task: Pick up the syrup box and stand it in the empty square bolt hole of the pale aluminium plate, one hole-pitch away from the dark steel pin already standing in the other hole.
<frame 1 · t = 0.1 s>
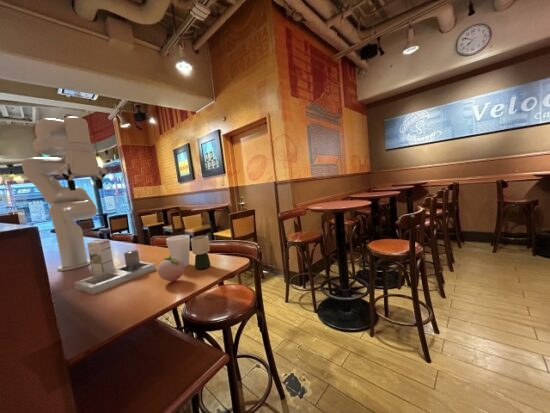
hand: (86, 189, 97), 37 cm above the table, tool pointing down, fingers open, 9 cm apart
syrup box: (103, 273, 99), on the table
decorative fruit: (172, 282, 84), on the table
hole plate: (119, 278, 92), on the table
foam cup: (181, 266, 100), on the table
character mug: (203, 268, 97), on the table
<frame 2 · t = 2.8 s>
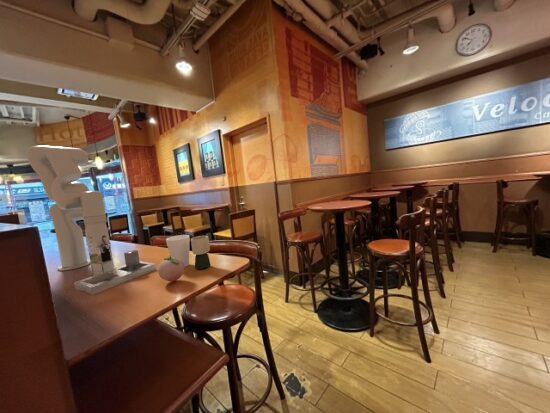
hand: (101, 259, 98), 6 cm above the table, tool pointing down, fingers closed on syrup box, 7 cm apart
syrup box: (103, 273, 99), on the table, touching gripper
everything else where it was.
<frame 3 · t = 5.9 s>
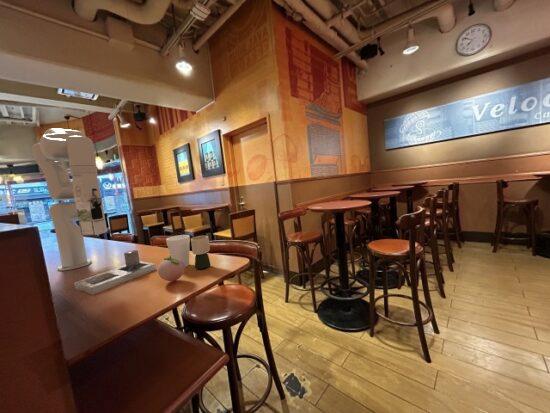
hand: (92, 218, 85), 25 cm above the table, tool pointing down, fingers closed on syrup box, 7 cm apart
syrup box: (94, 234, 86), point 19 cm above the table, touching gripper
everything else where it was.
when the fingers open (7 cm above the table, at t = 9.3 s): syrup box drops 1 cm, resting in hole plate.
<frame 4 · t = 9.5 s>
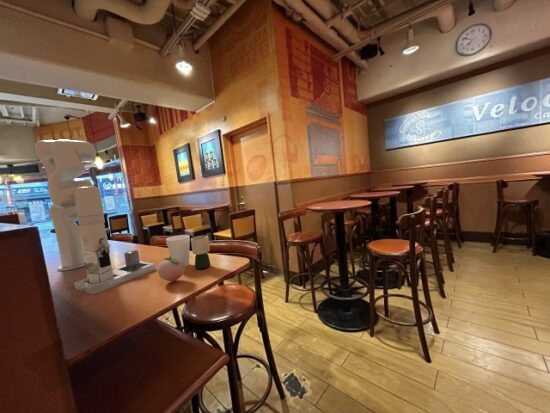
hand: (99, 265, 85), 8 cm above the table, tool pointing down, fingers open, 9 cm apart
syrup box: (102, 285, 86), resting in hole plate
everything else where it was.
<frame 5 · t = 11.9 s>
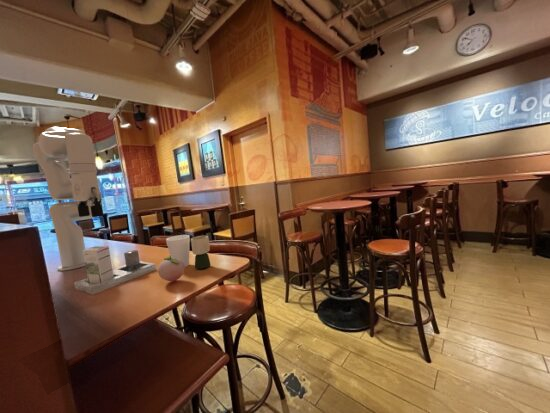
hand: (91, 216, 84), 26 cm above the table, tool pointing down, fingers open, 9 cm apart
nothing on the table moved.
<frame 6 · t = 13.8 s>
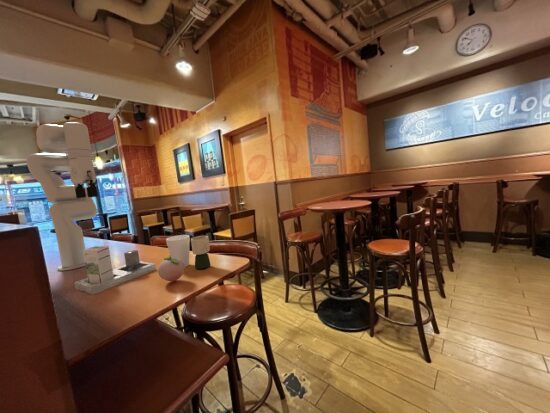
hand: (87, 197, 93), 33 cm above the table, tool pointing down, fingers open, 9 cm apart
nothing on the table moved.
at the end: syrup box 0.1 cm from the target spot on the hole plate, point 0.0 cm above the hole plate's base; syrup box tilted 0°; the gripper is holding nothing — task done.
